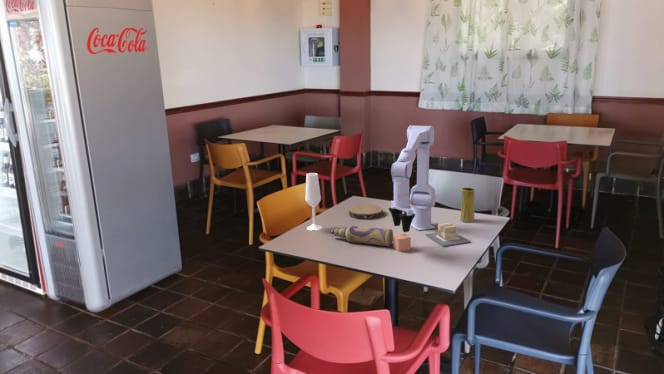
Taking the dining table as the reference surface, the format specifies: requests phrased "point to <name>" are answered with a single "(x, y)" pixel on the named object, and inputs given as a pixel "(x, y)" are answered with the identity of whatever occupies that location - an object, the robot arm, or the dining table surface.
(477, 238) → the dining table surface
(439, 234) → the beech block
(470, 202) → the vase
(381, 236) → the decorative bottle
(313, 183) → the champagne flute
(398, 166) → the robot arm
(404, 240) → the terracotta block
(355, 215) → the wood slice
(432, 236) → the baseplate
